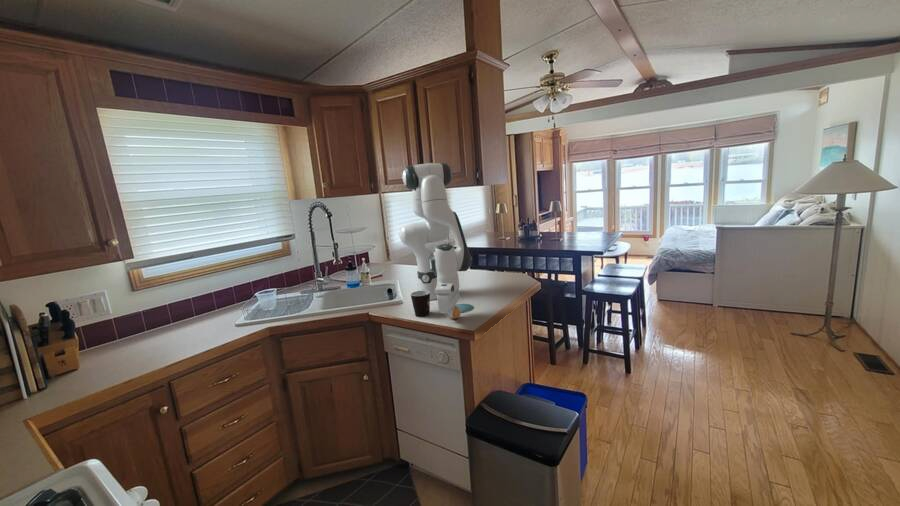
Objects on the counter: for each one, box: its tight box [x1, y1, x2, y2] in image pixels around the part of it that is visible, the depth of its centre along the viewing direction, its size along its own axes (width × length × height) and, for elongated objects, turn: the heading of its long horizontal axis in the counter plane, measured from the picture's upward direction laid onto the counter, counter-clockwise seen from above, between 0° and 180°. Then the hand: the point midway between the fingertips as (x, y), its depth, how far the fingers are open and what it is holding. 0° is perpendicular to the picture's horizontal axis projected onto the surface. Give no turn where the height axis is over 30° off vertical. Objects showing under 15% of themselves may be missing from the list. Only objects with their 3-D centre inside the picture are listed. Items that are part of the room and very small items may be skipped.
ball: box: [447, 306, 461, 320], centre depth 155 cm, size 6×6×6 cm
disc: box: [455, 303, 474, 314], centre depth 167 cm, size 12×12×1 cm
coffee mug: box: [410, 290, 431, 318], centre depth 164 cm, size 12×9×10 cm
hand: (451, 316), depth 151 cm, fingers closed
